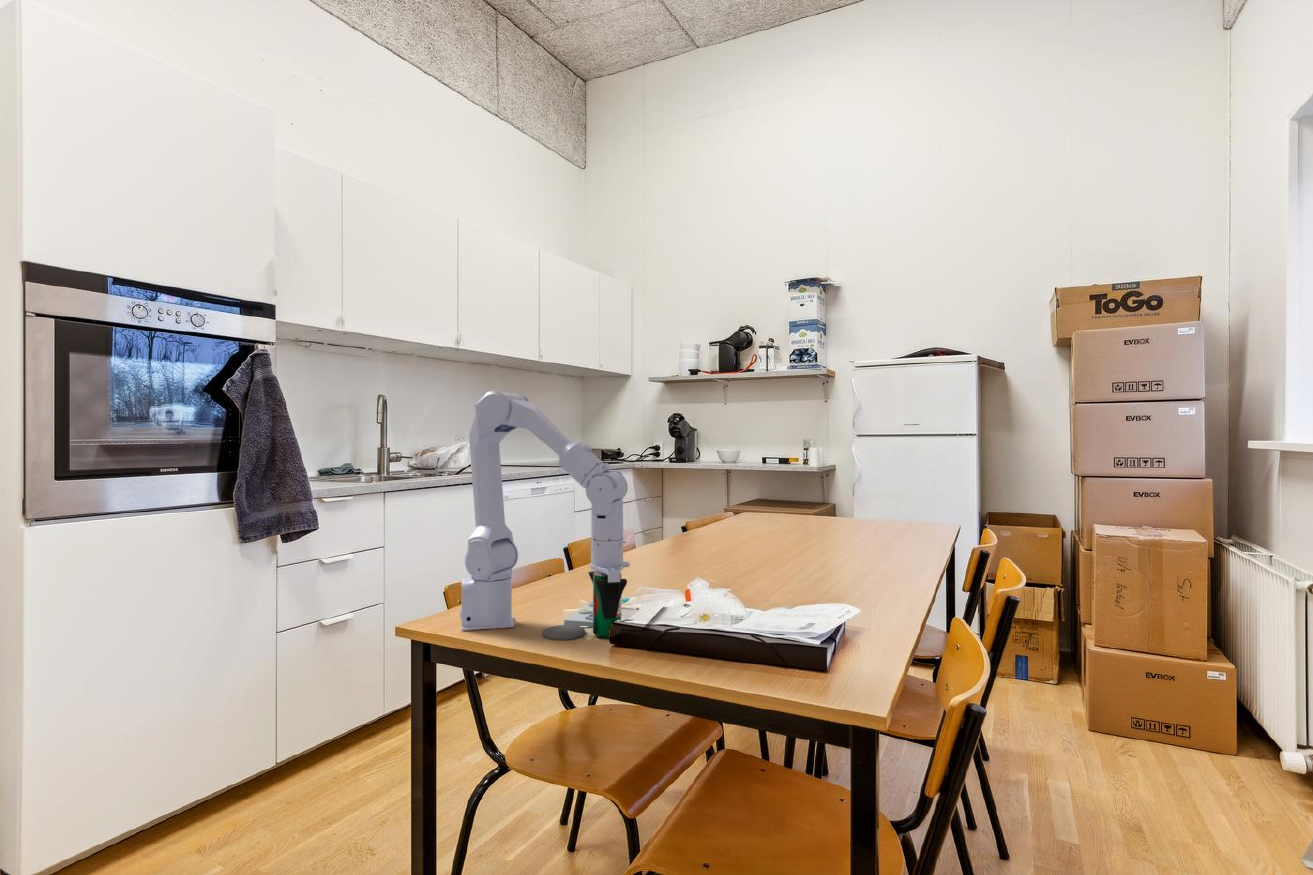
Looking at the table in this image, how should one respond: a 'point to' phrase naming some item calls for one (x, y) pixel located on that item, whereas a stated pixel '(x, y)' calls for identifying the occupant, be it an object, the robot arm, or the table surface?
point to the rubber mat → (563, 632)
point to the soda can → (599, 623)
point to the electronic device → (584, 615)
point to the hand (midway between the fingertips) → (607, 614)
